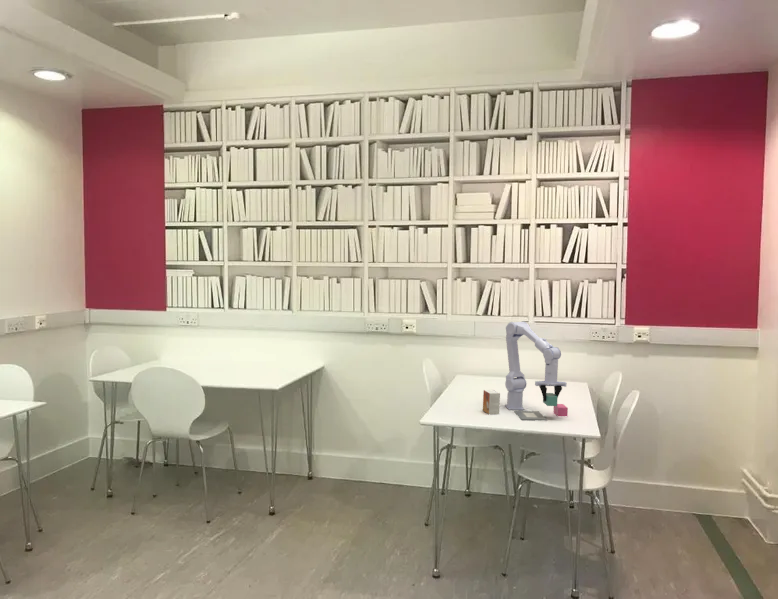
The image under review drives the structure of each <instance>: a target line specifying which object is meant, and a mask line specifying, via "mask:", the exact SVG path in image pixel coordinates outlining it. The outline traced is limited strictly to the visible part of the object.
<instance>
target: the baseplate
mask: <svg viewBox="0 0 778 599" xmlns="http://www.w3.org/2000/svg"><path fill="white" fill-rule="evenodd" d="M513 412H514V413H515V414H516V416H517V415H518V416H519V417H518V416H517V417H518V418H519V419H520V420H521V421H535V420H547V421H548V419H547V418H546V417H545V416H544V415H543V414H542V413H541V412H540V411H538V410H535V411H534V410H513Z"/></svg>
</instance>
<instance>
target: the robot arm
mask: <svg viewBox="0 0 778 599" xmlns="http://www.w3.org/2000/svg"><path fill="white" fill-rule="evenodd" d="M505 330H506V331H505V333H506V336H505V341H506V342H505V343H506V350H507V361H508V369H509V370H508V373H507V375H506V376H505V382H504V384H505V388H506V390H507V396H506V398H507V399H506V404H505V407H506V408H507V410H509V411H511V410H513V411H525V408H524V407H523V399H524V398H523V396H524V391H525V390H526V387H527V384H528V383H527V380H526V378H525V374H524V373H523V372H522V371H521V365H520V364H521V363H520V354H519V345H518V341H519V339H520V338H521V337H523V336H525V337H526V338H528V340H530V341H532V342H533V343H534V347H535V348H536V349H537V350H539V351H540V352H541V353H542V356H543V359H544V363H545V364H544V365H545V368H544V380H539V381H538V380H537V381H536V380H535V381H534V385H535V387H539V388H540V392H541V394H542V402H543V401H546V393H547V390H548V388H547V387H554V388H553V390H554V393H553V394H555V395H556V396H557V397H558V398H559V395H560V393H561V392H562V390H563V387H564V388H567V382H566V381H558V370H559V359H560V358H561V356H562V352H561V349H560V348H559V347H557V346H554V345H553V344H551V343H550V342H548V340H547V338H545V337H539V335H538V334H537V333H536V332H535V331H533V329H531V327H530V324H528V322H526V321H525V320H523V321H509V322H508V323H507V325H505Z"/></svg>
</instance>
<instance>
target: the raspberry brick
mask: <svg viewBox="0 0 778 599" xmlns="http://www.w3.org/2000/svg"><path fill="white" fill-rule="evenodd" d="M568 409H569V408H568V407H567V406H566V405H565V404H564V403H557V406H553V410H552V412H554V413H553V414H555V415H556V416H557V415H558V416H567V417H568V412H569V410H568ZM558 416H557V417H558Z"/></svg>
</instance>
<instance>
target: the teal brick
mask: <svg viewBox="0 0 778 599" xmlns="http://www.w3.org/2000/svg"><path fill="white" fill-rule="evenodd" d="M558 398H559V396H558V397H557V396H556V395H555V393H553V392H546V401H543V400H542V403H544V404H545V405H546V406H547V407H554V406H557V404H558Z"/></svg>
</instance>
